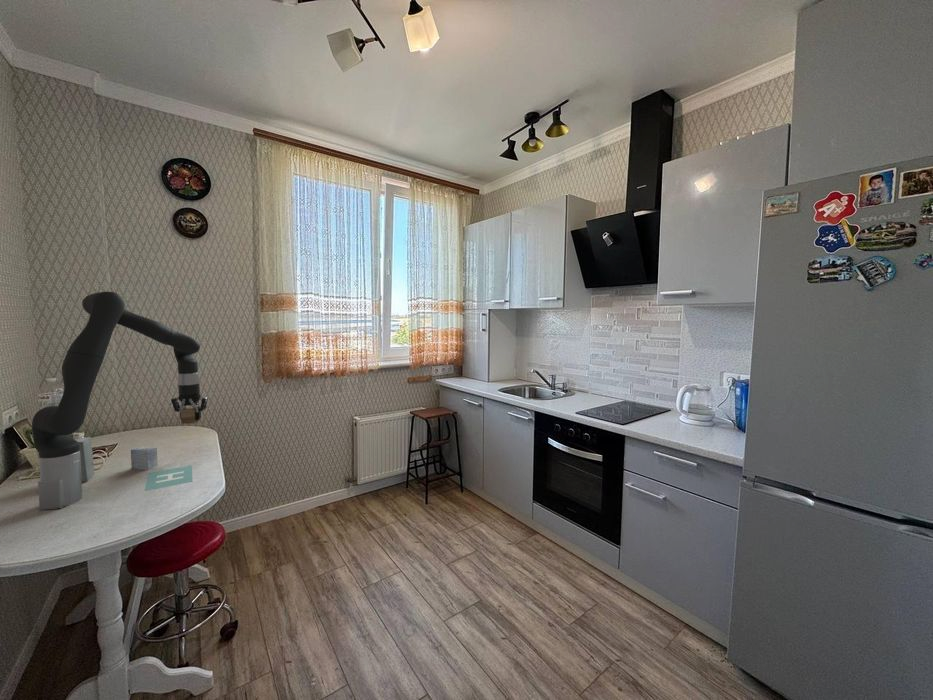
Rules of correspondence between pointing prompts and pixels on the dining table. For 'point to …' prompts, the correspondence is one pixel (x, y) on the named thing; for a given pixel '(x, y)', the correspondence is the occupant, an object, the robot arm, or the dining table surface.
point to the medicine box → (144, 458)
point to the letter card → (169, 477)
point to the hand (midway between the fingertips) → (190, 420)
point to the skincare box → (86, 458)
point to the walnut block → (188, 416)
